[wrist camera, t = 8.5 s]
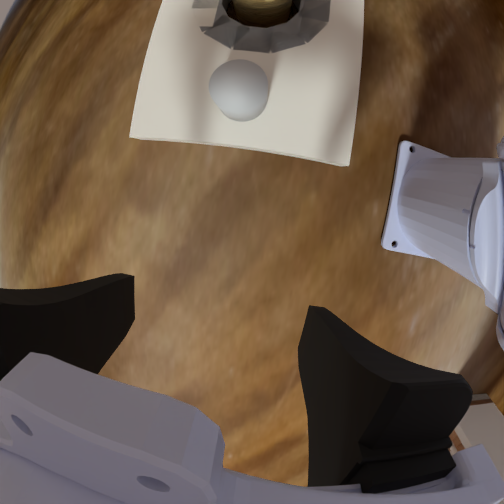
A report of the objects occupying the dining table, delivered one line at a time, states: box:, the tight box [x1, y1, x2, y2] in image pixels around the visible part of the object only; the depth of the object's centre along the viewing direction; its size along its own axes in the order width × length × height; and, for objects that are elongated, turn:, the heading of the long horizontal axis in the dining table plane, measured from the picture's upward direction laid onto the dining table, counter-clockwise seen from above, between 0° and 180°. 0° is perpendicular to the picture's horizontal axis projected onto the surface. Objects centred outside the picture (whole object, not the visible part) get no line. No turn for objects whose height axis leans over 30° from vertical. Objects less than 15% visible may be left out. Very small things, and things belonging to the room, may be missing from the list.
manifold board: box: [129, 0, 364, 166], centre depth 14 cm, size 14×16×5 cm
